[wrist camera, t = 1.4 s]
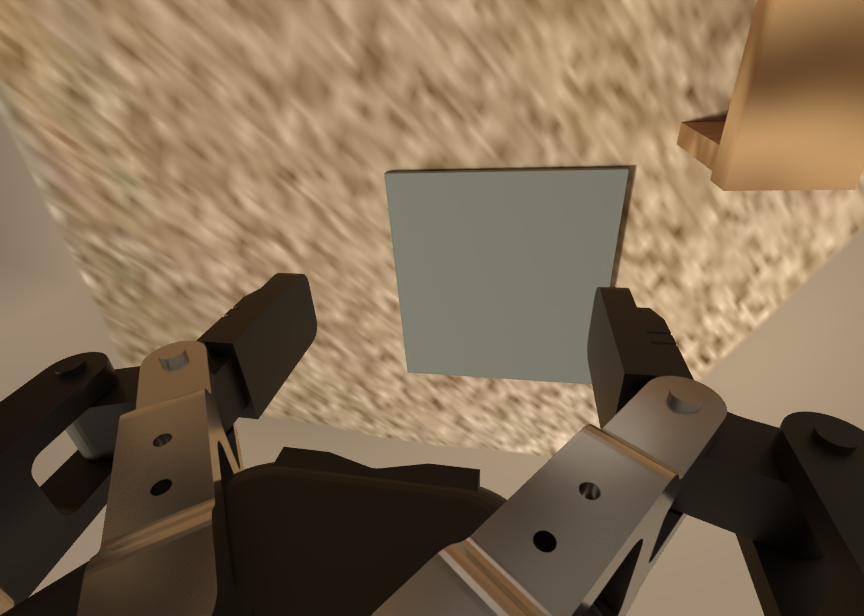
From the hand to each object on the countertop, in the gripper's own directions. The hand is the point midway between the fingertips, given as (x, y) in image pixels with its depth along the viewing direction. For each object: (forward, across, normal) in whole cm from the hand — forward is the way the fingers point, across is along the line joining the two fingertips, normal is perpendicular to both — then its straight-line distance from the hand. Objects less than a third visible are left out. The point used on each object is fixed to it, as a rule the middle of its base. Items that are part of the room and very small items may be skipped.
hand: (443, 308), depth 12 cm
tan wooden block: (+24, -15, -5) cm, 29 cm away
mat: (+24, -1, +12) cm, 27 cm away
